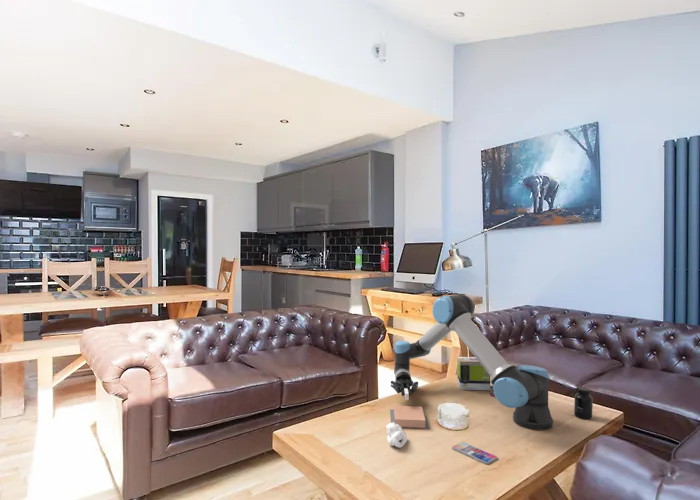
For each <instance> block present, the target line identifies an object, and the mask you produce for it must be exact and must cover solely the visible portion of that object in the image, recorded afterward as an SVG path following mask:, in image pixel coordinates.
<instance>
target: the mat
mask: <svg viewBox="0 0 700 500" xmlns="http://www.w3.org/2000/svg"><path fill="white" fill-rule="evenodd" d="M425 411H426V410H423V413H424V417H425V428H424V429H426V430H427V429H430V427H429V423H428V419H427V415H426V412H425ZM389 415H390V416H389V417H390V423H393V422H394V409H390V408H389ZM394 423H395V422H394ZM401 428H402V429H405V428H406V429H416V428H415V427H401Z"/></svg>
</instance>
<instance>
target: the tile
mask: <svg viewBox="0 0 700 500" xmlns="http://www.w3.org/2000/svg"><path fill="white" fill-rule="evenodd" d="M393 410H394V422H395V424H398V425H400V426H401V427H415V428H414V429H426V428H425V417H424V413H423V411H424V410H423V406H416V405H415V406H411V405H409V406H407V405H393Z"/></svg>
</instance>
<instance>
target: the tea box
mask: <svg viewBox="0 0 700 500" xmlns="http://www.w3.org/2000/svg"><path fill="white" fill-rule="evenodd" d="M456 359H457V362H456V363H457V364H456V366H457V368H456V370H457V373H456V375H457V377H456V378H457V379H456V380H457V385H458V387H459V390H461V391H464V390H465V391H490V392H491V388H490V386H491V376H490V375H489V373H488V372H487V371H486V370H485V368H484V367H483V366H482V365H481V363H480V362H479V361H478V360H477V358H476V357H475V356H457V358H456Z"/></svg>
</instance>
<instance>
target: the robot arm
mask: <svg viewBox="0 0 700 500" xmlns="http://www.w3.org/2000/svg"><path fill="white" fill-rule="evenodd" d="M474 313H475V304H474V300H472V298H470V297H469V296H468V295H466V294H465V295H464V294H454V295H444V296H440V297H438V298H437V299H436V300H435V301H434V303H433V304H432V316H433V318H434V320H435V321H436V323H435V324H434V325H433V326H432V327H430V329H428V330H427V331H426V332H425V333H424V334H423V335H422V336H421V337H420V338H419V339H418V340H416V342H412V343H410V342H409V341H408V340H407V341H406V340H398V341H395V344H394V369H393V373H394V377H395V381H394V380H391V381H390V387H391V388H393V390H395V392H396V393H397V394H401V396H404V400H405V401H410V400H409V397H410V396H411V394H412V395H414V394H415V392H416V390H417V389H418V388H419V382H418V381H413V380H412V376H411V372H410V368H411V365H410V363H411V360H413V359H416V358H421V357H422V358H423V357H425V356H428V355H430V354H431V350H432V349H433V348H434V347H435V346H436V345H437V344H438V343H440V342H441V341H442V340H443V339H444V338H445V337H446V336H447V335H449V334H450V333H451V332H452V331H453V332H455V333H456V335H457V336H458V337H459V338H460V339H461V341H462V343H464V345H465V346H466V347H467V348H468V350H469V351H470V352H471V354H472V355H473V357H476V358H477V360H478V361H479V362H480V363H481V365H482V366H483V367H484V368H485V370H486V371H487V372H488V373H489V375H490V384H492V385H491V386H493V390H494V395H495V396H494V397H495V399H496V400H497V401H498V402H499V403H500V404H501V405H503V406H504V407H506V408H511V409H514V411H513V412H512V420H513V422H514V423H515V424H516V425H519V426H520V427H521V428H525V429H530V430H536V431H545V430H550V429H552V428H553V426H554V425H553V424H554V419H553V417H552V415H551V410H550V408H549V389H550V387H549V384H550V383H549V380H550V378H549V376H550V375H549V371H548V370H547V369H546V368H543V367H541V366H535V365H532V364H531V365H530V364H520V365H518V366H517V367H516V366H515V364H510V363H508V362H507V361H506V360H505V358H504V357H503V356H502V355H501V354H500V353H499V351H498V350H497V349H496V347H495V346H494V345H493V344H492V343H491V342H490V341H489V339H488V338H487V337H486V336H485V335H484V334H483V332H482V331H481V330H480V328H479V327H478V326H477V325H476V324H475V323H474V321H473V320H472V319H471V318H472V316H473V315H474Z"/></svg>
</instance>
